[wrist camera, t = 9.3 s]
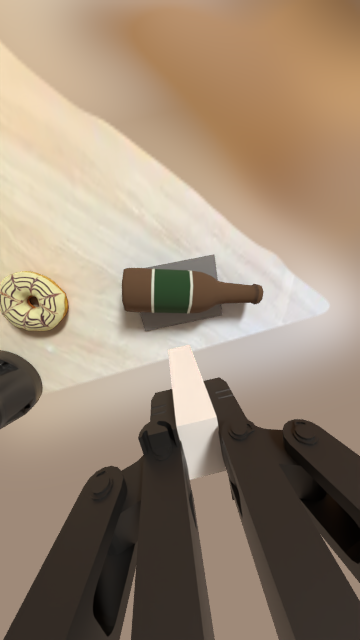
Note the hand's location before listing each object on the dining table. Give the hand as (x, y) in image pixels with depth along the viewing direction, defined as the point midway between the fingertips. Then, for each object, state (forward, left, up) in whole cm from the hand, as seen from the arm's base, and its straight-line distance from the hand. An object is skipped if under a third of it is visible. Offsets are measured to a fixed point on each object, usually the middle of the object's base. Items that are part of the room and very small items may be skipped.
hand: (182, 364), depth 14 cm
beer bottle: (-7, +4, -23) cm, 24 cm away
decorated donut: (-24, +4, -27) cm, 36 cm away
